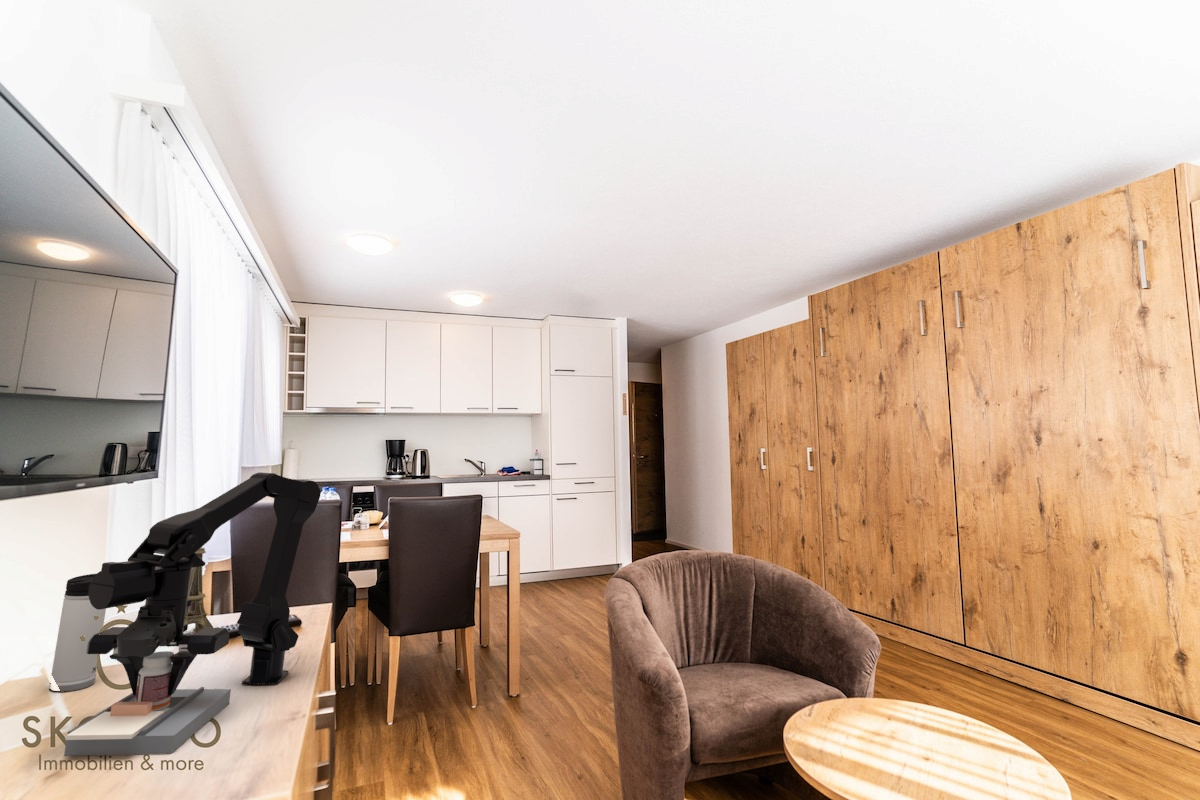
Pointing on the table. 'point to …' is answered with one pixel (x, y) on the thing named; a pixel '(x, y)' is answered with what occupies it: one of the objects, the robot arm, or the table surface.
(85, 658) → the travel mug
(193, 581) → the eiffel tower
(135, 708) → the cover
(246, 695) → the table surface
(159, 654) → the pill bottle
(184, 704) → the board
